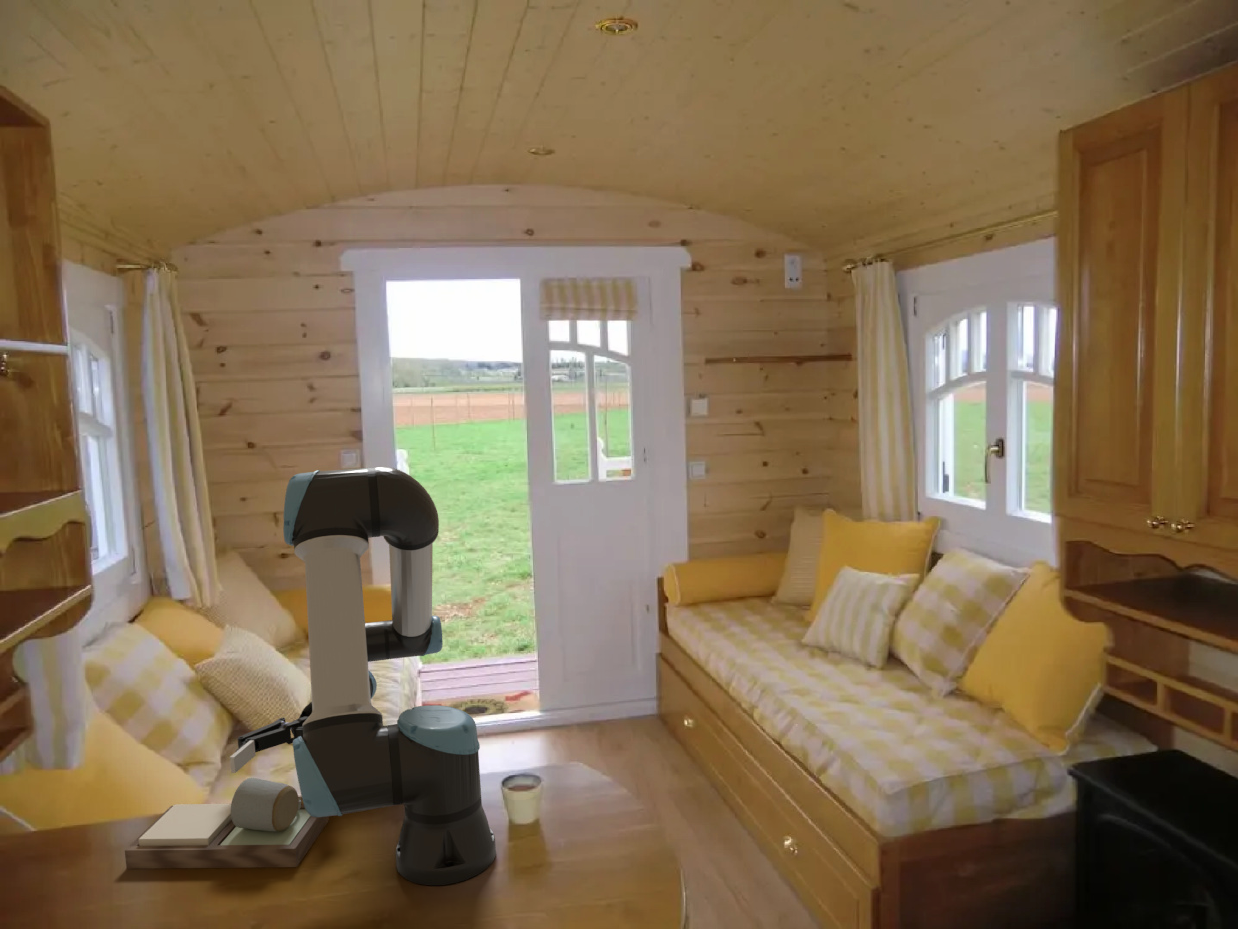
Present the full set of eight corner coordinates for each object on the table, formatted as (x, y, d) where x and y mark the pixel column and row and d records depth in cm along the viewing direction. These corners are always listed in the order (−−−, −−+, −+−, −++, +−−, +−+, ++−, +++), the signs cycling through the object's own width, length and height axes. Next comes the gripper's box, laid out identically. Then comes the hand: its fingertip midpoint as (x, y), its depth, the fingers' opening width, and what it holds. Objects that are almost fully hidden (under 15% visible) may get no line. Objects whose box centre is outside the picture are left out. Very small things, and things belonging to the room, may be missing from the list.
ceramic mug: (277, 842, 146) (273, 795, 145) (231, 837, 148) (227, 791, 147) (314, 808, 156) (311, 764, 155) (271, 804, 158) (267, 761, 157)
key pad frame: (328, 820, 158) (327, 803, 157) (296, 867, 144) (295, 848, 143) (173, 822, 159) (171, 805, 159) (126, 868, 145) (124, 850, 145)
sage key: (316, 825, 156) (315, 809, 156) (290, 861, 145) (289, 844, 145) (251, 825, 157) (250, 810, 156) (221, 862, 146) (219, 845, 146)
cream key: (240, 819, 157) (239, 803, 156) (209, 855, 146) (207, 838, 146) (176, 820, 157) (174, 804, 157) (140, 856, 146) (138, 839, 146)
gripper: (394, 734, 172) (346, 790, 151) (266, 732, 176) (202, 786, 155) (391, 695, 171) (343, 745, 150) (262, 693, 175) (198, 742, 154)
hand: (271, 766), depth 153 cm, fingers open, 13 cm apart
